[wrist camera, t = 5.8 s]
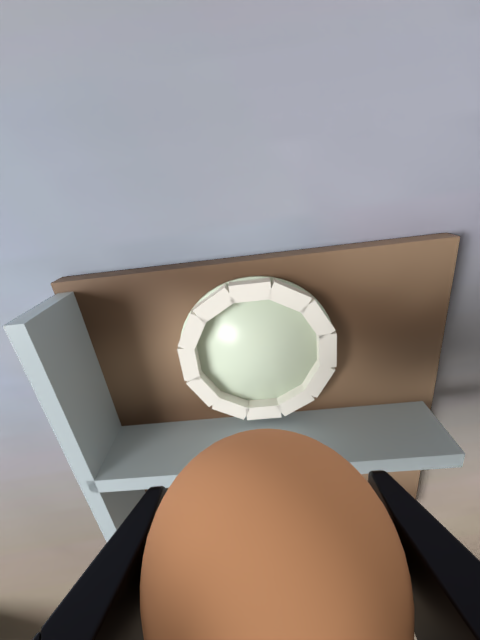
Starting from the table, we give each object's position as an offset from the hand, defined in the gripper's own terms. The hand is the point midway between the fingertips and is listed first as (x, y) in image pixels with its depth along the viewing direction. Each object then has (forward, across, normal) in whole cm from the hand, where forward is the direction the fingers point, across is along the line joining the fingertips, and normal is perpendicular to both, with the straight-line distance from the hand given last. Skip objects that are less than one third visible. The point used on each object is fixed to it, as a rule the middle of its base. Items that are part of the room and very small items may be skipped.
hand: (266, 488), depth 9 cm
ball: (-2, 0, 0) cm, 2 cm away
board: (+8, 0, +4) cm, 10 cm away
